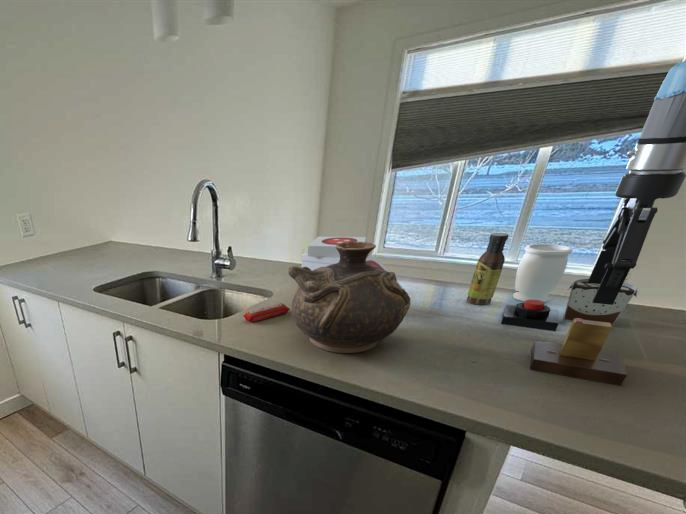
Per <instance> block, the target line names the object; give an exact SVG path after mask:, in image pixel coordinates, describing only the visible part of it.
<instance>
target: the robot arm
mask: <svg viewBox="0 0 686 514" xmlns="http://www.w3.org/2000/svg"><path fill="white" fill-rule="evenodd" d="M653 100H654V101H653V103H652V106H651V108H650V111H649V113H648V116H647V119H646V121H645V123H644V125H643V128H642V131H641V133H640V136H639V138H638V140H637V142H636V144H635V147H634V148H635V150H629V151H628V152H627V154H626V157H627V158H630V159H629V161H628V163H627V166H626V168H625V169H626V170H627V171H629V172H628V173H625V174H624V175H622V176H621V179H620V181H619V183H618V185H617V187H616V190H615V193H614V195H615V197H617V198H620V199H624V200H623V201H622V202H623V203H622V206H621V207H620V209H619V211H618V214H616V215H617V216H616V217H615V219H614V221H613V223H612V225H611V227H610V229H609V230H608V232H607V234H606V236H605V238H604V239H603V240H602V247H601V248H602V249H601V251H600V253H599V255H598V258H597V260H596V262H595V264H594V266H593V269H592V271H591V273H590V276H589V278H588V279H589V280H588V283H593V284H600V286H599V288H598V290H597V292H596V295H595V297H594V299H593V301H592V303H599V304H608V305H613V303H614V301H615V299H616V297H617V295H618V293H619V291H620V289H621V287H622V285H623V283H624V282H625V280H626V279H627V277H628V274H629V273H630V270H631V269H635V267H636V266H637V262H638V259H639V258H640V257H639V256H640V254H641V252H642V249H643V246H644V243H645V241H646V239H647V235H648V233H649V230H650V228H651V225H652V223H653V220H654V218H655V216H656V214H657V213H658V212H659V211H658V207H653V206H654V205H655V201H657V200H658V199H663V200H665V199H671V198H673V197H675V196H677V194H678V193H679V191H680V189H681V187H682V185H683V183H684V181H685V179H686V172H685V170H686V60H683V61H680V62H678V63H676V64H674V65H673V66H672V67H671V68H670V69H669V71H668V72H667V74H666V76H665V78H664V79H663V81H662V83H661V85H660V87H659V89H658V91H657V93H656V95H655V96H654V99H653Z"/></svg>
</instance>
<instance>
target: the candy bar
mask: <svg viewBox="0 0 686 514" xmlns="http://www.w3.org/2000/svg"><path fill="white" fill-rule="evenodd" d="M289 311H291V309H290V307H288V306H287V305H285V304H284V303H282V302H280V303H276V304H271V305H268V306H263V307H259V308H256V309H251V310H248V311H246V312H245V313H244V314H242V316H243V317H244V319H245V321H246V322H249V323H256V322H259V321H263V320H266V319H270V318H274V317H278V316H281V315H285V314H287V313H288V312H289Z"/></svg>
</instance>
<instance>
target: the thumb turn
mask: <svg viewBox="0 0 686 514" xmlns="http://www.w3.org/2000/svg"><path fill="white" fill-rule="evenodd" d="M612 328H613V327H612V326H611V323H607V322H599V321H590V320H582V319H581V318H575V319H574V320H573V321H571V324H570V326H569V328H568V330H567V331H568V332H567V334H566V336H565V337H564V341H563V343H562V344H563V345H562V347H561V349H560V355H562V356H569V357H575V358H581V359H588V360H594V361H595V360H596V358H597V356H598V354H599V352H600V350H602V348H603V346H604V345H605V342H606V340H607V338H608V336H609V334H610V332H611V330H612Z"/></svg>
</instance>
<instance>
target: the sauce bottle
mask: <svg viewBox="0 0 686 514" xmlns="http://www.w3.org/2000/svg"><path fill="white" fill-rule="evenodd" d="M508 239H509V233H506V232H492V233H490V235H489V241H488V244H487V247H486V250H485V252H483V253H482V255H480V256H479V258H478V260H477V263H476V265H475V269H474V272H473V275H472V279H471V281H470V285H469V288H468V292H467V297H466V301H467V302H468V303H470V304H471V305H475V306H486V305H487V306H488V305H489V304H491V302H492V299H493V297H494V296H495V295H494V294H495V292H496V289H497V286H498V283H499V280H500V277H501V274H502V271H503V268H504V264H505V261H506V257H505V255H504V251H505V250H504V249H505V245H506V242H507V241H508Z"/></svg>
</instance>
